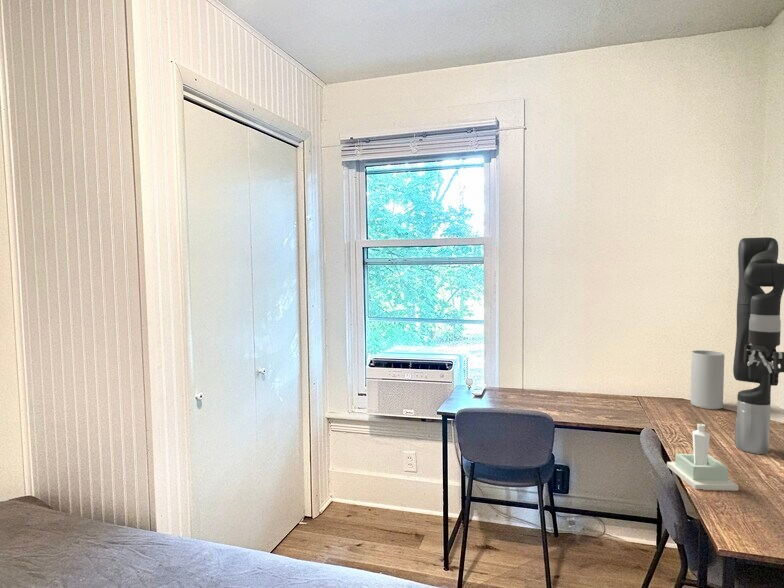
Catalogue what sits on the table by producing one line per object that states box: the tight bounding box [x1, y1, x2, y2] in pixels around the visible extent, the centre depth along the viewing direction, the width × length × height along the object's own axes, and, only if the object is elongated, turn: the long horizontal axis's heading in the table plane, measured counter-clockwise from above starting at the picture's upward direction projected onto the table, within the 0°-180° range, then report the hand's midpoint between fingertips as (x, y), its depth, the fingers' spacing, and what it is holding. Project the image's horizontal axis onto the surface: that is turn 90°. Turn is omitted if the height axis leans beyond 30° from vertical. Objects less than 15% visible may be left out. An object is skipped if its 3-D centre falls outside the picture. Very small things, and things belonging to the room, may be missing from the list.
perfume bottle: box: [692, 423, 711, 465], centre depth 143 cm, size 5×4×15 cm
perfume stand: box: [666, 453, 740, 492], centre depth 143 cm, size 16×12×6 cm
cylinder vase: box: [690, 349, 725, 410], centre depth 215 cm, size 12×12×25 cm
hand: (762, 381), depth 142 cm, fingers open, 8 cm apart
